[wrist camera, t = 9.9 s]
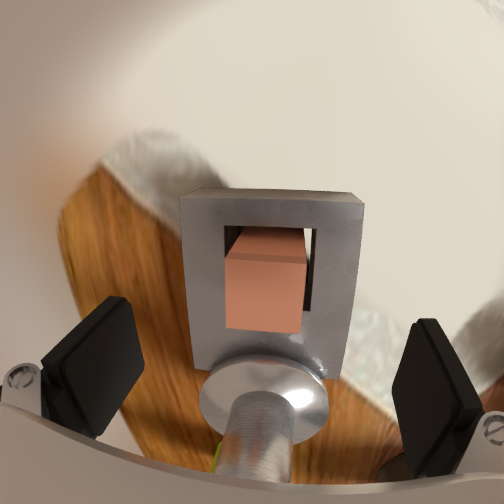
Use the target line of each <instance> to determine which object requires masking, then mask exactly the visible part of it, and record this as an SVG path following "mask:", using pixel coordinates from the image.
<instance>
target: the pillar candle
mask: <svg viewBox="0 0 504 504" xmlns="http://www.w3.org/2000/svg"><path fill="white" fill-rule="evenodd" d="M407 480H414V477H413V474H410V473H409V472H408V469H407V463H406V458H405V453H404V454H402V455H399V456H397V457H395V458H393V459H391V460H390V461H389V462H387V463H386V464H385V465H384V466H383V467H382V468H381V469H380V470H379V472H378V483H387V482H398V481H407Z"/></svg>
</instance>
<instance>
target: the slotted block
mask: <svg viewBox="0 0 504 504" xmlns="http://www.w3.org/2000/svg"><path fill="white" fill-rule="evenodd" d="M179 203H180V221H181V238H182V252H183V265H184V277H185V288H186V298H187V308H188V318H189V327H190V335H191V344H192V352H193V359H194V367H195V369H200V370H208V371H211V372H210V373H209V374H208V376H207V377H206V379H205V381H204V384H203V386H202V389H201V392H200V395H199V407H200V410H201V413H202V415H203V417H204V418H205V420H206V421H207V422H208V424H209V425H210V426H211V427H212V428H213V429H214V430H216V431H217V432H218V433H220V434H221V435H223V439H222V443H221V446H220V450H219V454H218V457H217V461H216V465H215V468H214V472H213V474H217V475H223V476H229V477H235V478H242V479H249V480H258V481H267V482H278V483H291V473H292V458H293V445H295V444H298V443H300V442H303V441H305V440H307V439H309V438H311V437H312V436H313V435H315V434H316V433H317V432H318V431H319V430H320V429H321V428H322V427H323V426H324V424H325V422H326V420H327V418H328V413H329V403H328V393H327V389H326V387H325V385H324V383H323V382H322V380H321V379H339V377H340V372H341V367H342V363H343V358H344V353H345V348H346V342H347V337H348V331H349V326H350V320H351V314H352V307H353V301H354V294H355V287H356V279H357V273H358V265H359V256H360V247H361V238H362V226H363V216H364V203H363V202H362V201H361V200H360V199H358V198H357V197H356V196H355V195H353V194H352V193H346V192H330V191H309V190H283V189H235V188H200V189H198V190H196V191H193V192H191V193H189V194H187V195H185V196H183V197H180V198H179ZM237 226H263V227H290V228H312V237H311V254H310V268H309V282H308V284H307V283H305V290H304V300H303V310H302V319H301V328H300V334H294V333H280V332H266V331H254V330H243V329H233V328H226V305H225V258H226V256H227V255H228V253H229V251H230V250H231V248H232V247H233V245H234V243H235V242H236V240H237Z"/></svg>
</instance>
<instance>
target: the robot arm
mask: <svg viewBox="0 0 504 504" xmlns="http://www.w3.org/2000/svg"><path fill="white" fill-rule="evenodd" d="M41 363H42V365H43V367H44V368H43V369H42V370H41V371H40V369H39V367H38V366H36V365H35V364H32V363H22V364H19V365H16V366H15V367H13V368H11V369H10V370H9V371H8V372H7V373H6V375H5V377H4V380H3V385H2V386H0V504H504V412H500V411H491V412H488V413H486V414H485V412H484V410H483V408H482V407H483V405H482V403H481V401H480V399H479V397H478V395H477V393H476V391H475V389H474V387H473V385H472V383H471V381H470V379H469V377H468V375H467V373H466V371H465V369H464V367H463V365H462V363H461V362H460V360H459V358H458V356H457V354H456V352H455V351H454V349H453V347H452V345H451V344H450V342H449V340H448V338H447V337H446V335H445V333H444V331H443V330H442V328H441V326H440V325H439V323H438V321H437V320H436V319H434V318H431V319H430V318H425V319H424V318H423V319H422V318H421V319H418V321H417V323H413V324H412V326H411V329H410V333H409V336H408V339H407V343H406V346H405V349H404V352H403V355H402V358H401V362H400V364H399V367H398V370H397V373H396V376H395V379H394V382H393V385H392V397H393V401H394V405H395V409H396V414H397V418H398V423H399V427H400V432H401V437H402V442H403V447H404V452H405V458H406V463H407V469H408V472H409V473H410V474H413V477H414V480H407V481H398V482H387V483H372V484H352V485H311V484H291V483H278V482H267V481H258V480H249V479H242V478H235V477H229V476H223V475H217V474H212V473H206V472H202V471H197V470H192V469H188V468H183V467H179V466H175V465H171V464H167V463H164V462H160V461H156V460H153V459H149V458H146V457H143V456H139V455H136V454H133V453H130V452H127V451H124V450H121V449H118V448H115V447H112V446H109V445H107V444H104V443H102V442H99V441H96V440H95V439H96V437H97V436H100V435H102V434H103V432H104V431H105V429H106V428H107V426H108V424H109V423H110V421H111V420H112V418H113V417H114V415H115V414H116V412H117V410H118V409H119V407H120V406H121V404H122V403H123V401H124V400H125V398H126V397H127V395H128V393H129V392H130V390H131V389H132V387H133V386H134V384H135V383H136V381H137V380H138V378H139V377H140V375H141V374H142V372H143V370H144V365H145V363H144V359H143V355H142V351H141V346H140V342H139V338H138V334H137V329H136V325H135V320H134V316H133V311H132V306H131V304H130V303H129V302H128V301H127V299H126V298H124V297H117V296H109V297H108V298H107V299H105V300H104V301H103V302H102V303H101V304H100V305H99V306H98V307H97V308H95V309H94V310H93V311H92V312H91V313H90V314H89V315H88V316H87V317H86V318H85V319H83V320H82V321H81V322H80V323H79V324H78V325H77V326H76V327H75V328H74V329H73V330H72V331H71V332H70V333H69V334H67V335H66V337H64V338H63V339H62V340H61V341H60V342H59V343H58V344H57V345H56V346H55V347H54V348H53V349H52V350H51V351H50V352H49V353H48V354H47V355H46V356H45V357H44V358H43V359H42V360H41Z"/></svg>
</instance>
